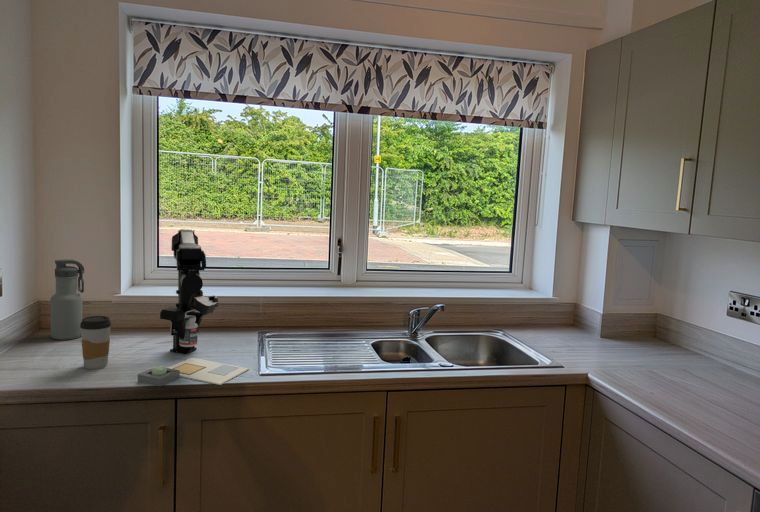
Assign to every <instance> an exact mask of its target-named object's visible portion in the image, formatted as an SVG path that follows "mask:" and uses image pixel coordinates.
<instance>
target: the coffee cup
mask: <svg viewBox="0 0 760 512" xmlns="http://www.w3.org/2000/svg"><path fill="white" fill-rule="evenodd" d="M80 324H81V325H80V328H81V348H82V349H81V350H82V359H83V367H84V368H85V369H86V370H99V369H104V368H106V367H107V366H108V363H109V362H108V361H109V354H110V353H109V352H110V342H111V341H110V338H111V337H110V336H111V326H112V322H111V320H110V317H109V316H106V315H93V316H92V315H91V316H86V317H82V322H81V323H80Z"/></svg>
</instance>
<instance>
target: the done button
mask: <svg viewBox="0 0 760 512" xmlns="http://www.w3.org/2000/svg"><path fill="white" fill-rule="evenodd" d="M158 366H159V365H158ZM167 368H168V367H166V366H162V365H161V366H159V367H157V366H154V367H152V368H151V369H152V375H155V376H162V375H164V374H166V372H167Z"/></svg>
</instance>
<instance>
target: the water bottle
mask: <svg viewBox="0 0 760 512" xmlns="http://www.w3.org/2000/svg"><path fill="white" fill-rule="evenodd" d="M54 264H55V268H54V278H55V293H54V294H53V295H52V296H51V297H50V299H49V300H50V337H51V338H52V339H54V340H57V341H67V340H69V341H70V340H74V339H78V338H80V337H82V335H81V328H80V325H81V324H80V323H81V322H82V319H83V296H82V294H80V293H84V291H85V282H84V281H85V280H84V278H83V274H85V268H84V265H83V264H82V263H81V262H79V260H78V261H77V260H75V259H69V258H68V259H55V260H54ZM68 265H69V266H68ZM70 265H76V266H77V267H76V266H70ZM78 292H80V293H78Z"/></svg>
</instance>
